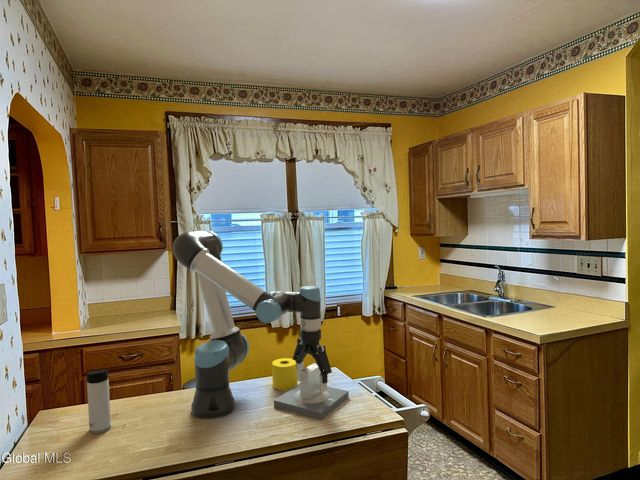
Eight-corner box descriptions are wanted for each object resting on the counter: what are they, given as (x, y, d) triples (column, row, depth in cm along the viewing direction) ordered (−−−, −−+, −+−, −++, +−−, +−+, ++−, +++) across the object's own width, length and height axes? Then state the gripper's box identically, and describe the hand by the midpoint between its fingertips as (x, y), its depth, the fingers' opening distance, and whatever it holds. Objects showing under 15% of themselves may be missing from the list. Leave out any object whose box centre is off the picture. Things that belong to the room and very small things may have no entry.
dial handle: (314, 388, 164) (313, 363, 163) (322, 390, 162) (321, 364, 162) (300, 398, 156) (299, 371, 155) (308, 400, 154) (308, 373, 154)
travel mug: (89, 436, 138) (86, 375, 136) (89, 427, 143) (86, 368, 142) (111, 431, 140) (108, 371, 139) (110, 422, 146) (107, 365, 145)
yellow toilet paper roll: (302, 384, 177) (301, 361, 176) (285, 392, 169) (285, 368, 168) (284, 378, 183) (283, 356, 182) (267, 386, 175) (266, 363, 174)
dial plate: (273, 406, 156) (273, 399, 156) (304, 387, 173) (304, 380, 173) (321, 420, 146) (321, 412, 146) (348, 397, 163) (348, 390, 163)
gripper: (283, 324, 165) (284, 378, 166) (324, 338, 146) (325, 399, 147) (298, 320, 170) (299, 373, 171) (341, 334, 150) (341, 393, 152)
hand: (311, 385), depth 159 cm, fingers open, 13 cm apart
